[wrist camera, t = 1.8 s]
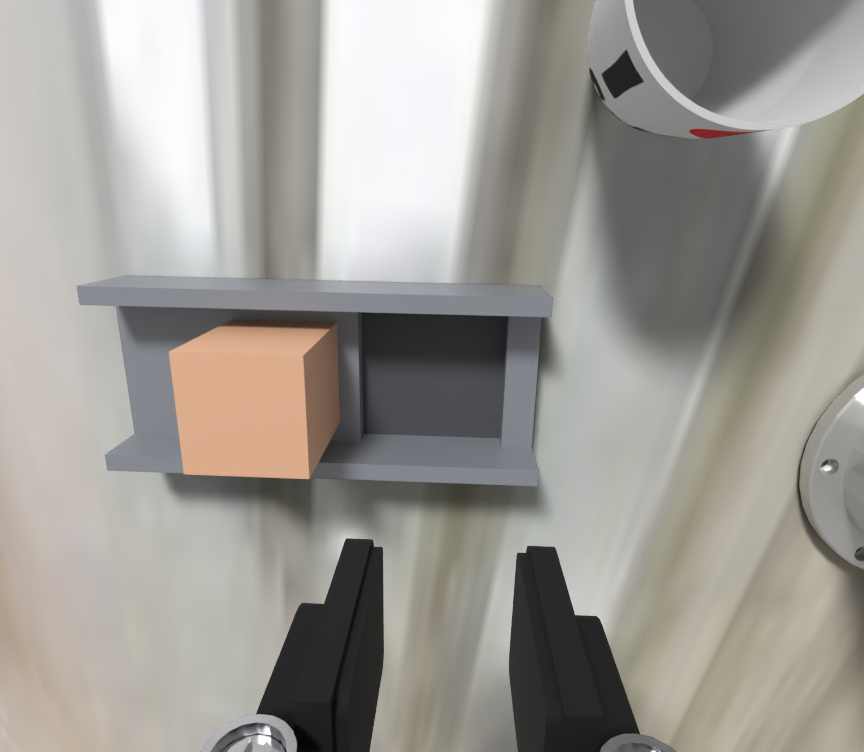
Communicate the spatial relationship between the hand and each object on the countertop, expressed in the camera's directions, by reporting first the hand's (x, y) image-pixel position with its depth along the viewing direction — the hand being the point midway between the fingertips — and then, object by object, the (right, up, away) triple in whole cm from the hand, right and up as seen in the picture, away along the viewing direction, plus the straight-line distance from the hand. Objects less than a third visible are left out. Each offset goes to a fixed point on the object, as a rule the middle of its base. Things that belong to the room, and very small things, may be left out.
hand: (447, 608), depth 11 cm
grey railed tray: (-5, +5, +17) cm, 18 cm away
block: (-7, +5, +16) cm, 18 cm away
